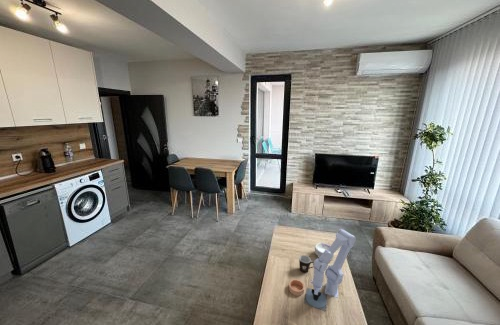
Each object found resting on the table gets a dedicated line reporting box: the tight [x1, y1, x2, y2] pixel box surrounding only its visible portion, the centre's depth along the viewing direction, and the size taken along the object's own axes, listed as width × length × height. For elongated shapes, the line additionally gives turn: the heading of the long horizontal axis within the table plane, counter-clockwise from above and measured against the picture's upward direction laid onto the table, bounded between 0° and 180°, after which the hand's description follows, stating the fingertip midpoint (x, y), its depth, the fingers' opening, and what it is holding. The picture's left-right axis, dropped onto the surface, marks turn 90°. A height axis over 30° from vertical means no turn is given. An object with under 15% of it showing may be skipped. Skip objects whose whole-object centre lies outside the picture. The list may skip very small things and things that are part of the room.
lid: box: [305, 290, 328, 309], centre depth 131 cm, size 13×13×4 cm
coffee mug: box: [298, 254, 314, 274], centre depth 154 cm, size 12×9×10 cm
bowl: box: [288, 278, 305, 297], centre depth 138 cm, size 10×10×4 cm
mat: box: [303, 287, 328, 312], centre depth 131 cm, size 13×13×1 cm
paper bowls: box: [314, 242, 335, 258], centre depth 171 cm, size 15×15×8 cm
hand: (316, 295), depth 131 cm, fingers open, 7 cm apart
